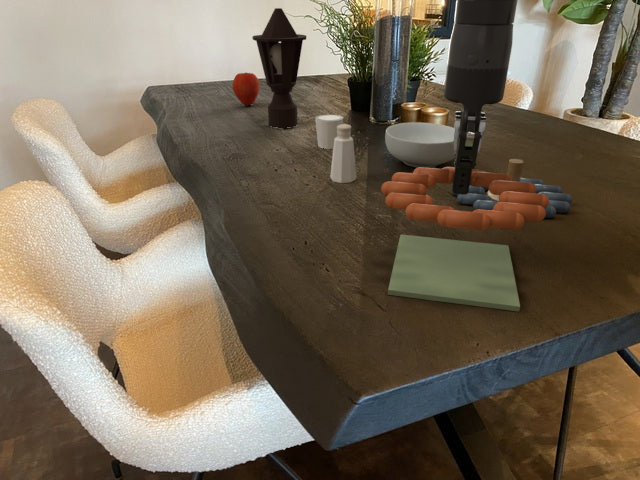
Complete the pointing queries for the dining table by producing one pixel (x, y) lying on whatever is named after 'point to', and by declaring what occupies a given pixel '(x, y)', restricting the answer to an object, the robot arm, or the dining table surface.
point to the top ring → (507, 214)
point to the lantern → (280, 67)
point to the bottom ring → (554, 193)
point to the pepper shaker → (343, 156)
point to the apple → (246, 87)
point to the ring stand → (511, 174)
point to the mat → (454, 272)
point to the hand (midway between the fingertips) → (460, 188)
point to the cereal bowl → (421, 143)
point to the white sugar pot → (327, 129)
